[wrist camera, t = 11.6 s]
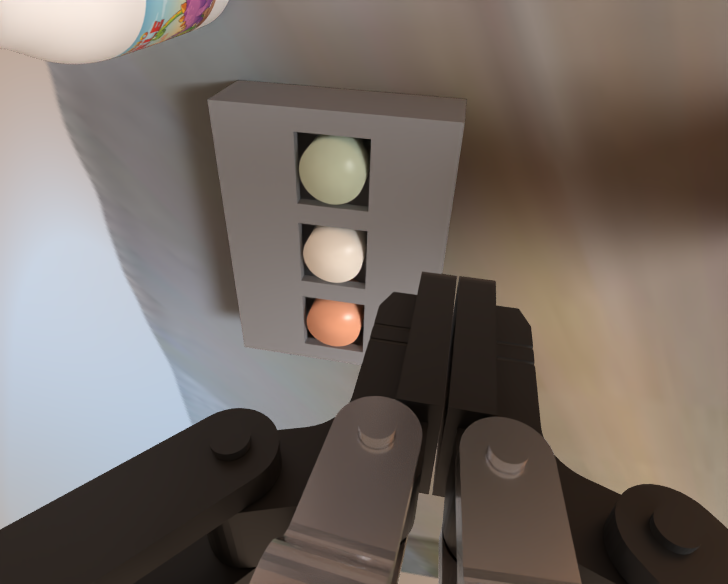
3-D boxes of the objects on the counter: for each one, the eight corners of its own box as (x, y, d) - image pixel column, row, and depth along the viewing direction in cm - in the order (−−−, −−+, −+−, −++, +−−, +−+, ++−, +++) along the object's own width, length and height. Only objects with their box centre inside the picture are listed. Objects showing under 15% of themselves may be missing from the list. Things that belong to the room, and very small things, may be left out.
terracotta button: (369, 279, 42) (360, 308, 39) (367, 319, 45) (359, 350, 41) (318, 272, 43) (305, 300, 39) (319, 312, 45) (307, 342, 42)
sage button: (376, 123, 34) (366, 143, 31) (374, 183, 37) (363, 208, 34) (314, 117, 35) (297, 137, 32) (315, 177, 37) (300, 200, 34)
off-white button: (372, 209, 38) (362, 235, 35) (370, 258, 41) (361, 286, 38) (316, 202, 39) (302, 227, 36) (318, 251, 41) (304, 278, 38)
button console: (466, 99, 33) (464, 122, 29) (431, 336, 46) (426, 375, 42) (238, 80, 35) (207, 99, 31) (264, 311, 48) (244, 346, 44)
